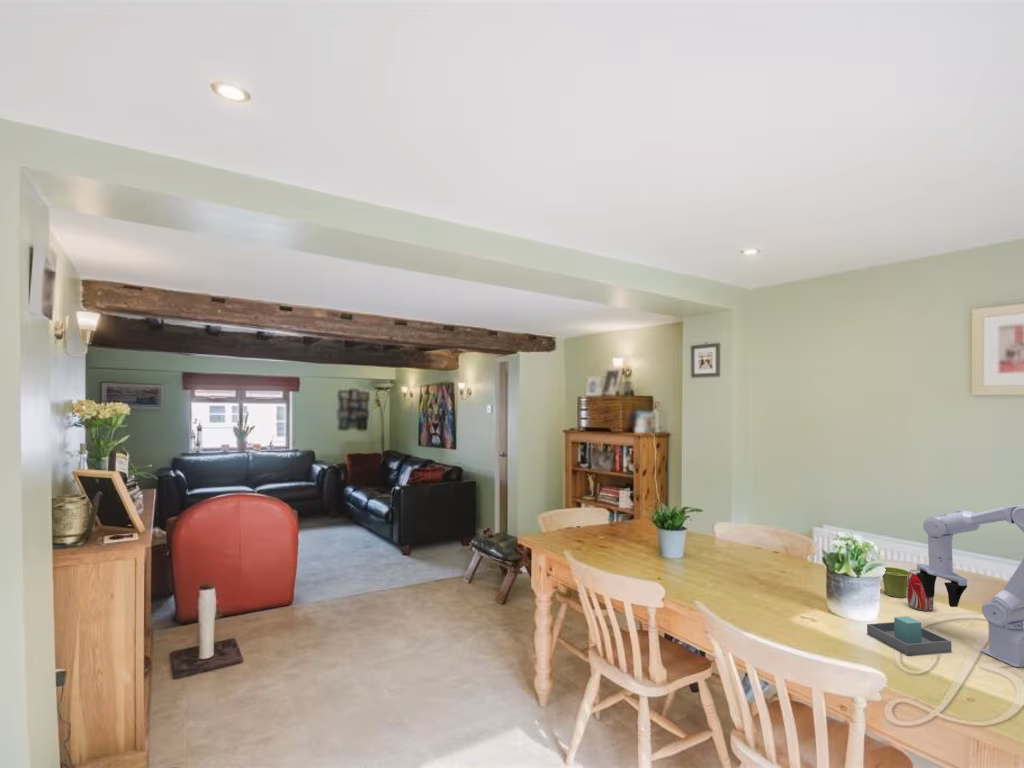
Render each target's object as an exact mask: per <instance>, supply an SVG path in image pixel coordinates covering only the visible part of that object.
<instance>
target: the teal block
mask: <svg viewBox="0 0 1024 768" xmlns="http://www.w3.org/2000/svg"><path fill="white" fill-rule="evenodd" d="M893 619H894V621H893V622H894V629H895V638H897V639H899V640H901V641H903V642H905V643H907V644H914V643H922V633H921V627H922V622H921V621H919V620H916V619H914V618H912V617H911V616H907V615H905V616H893Z"/></svg>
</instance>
